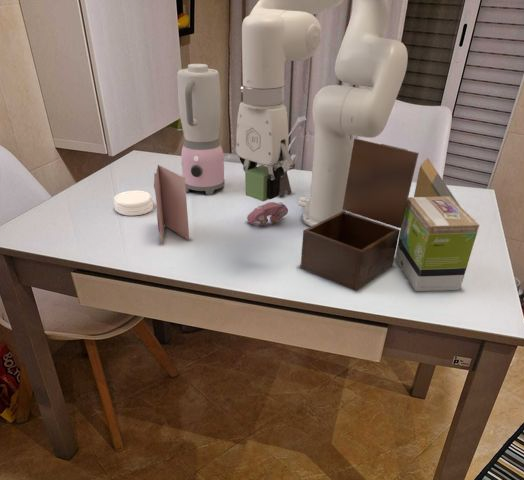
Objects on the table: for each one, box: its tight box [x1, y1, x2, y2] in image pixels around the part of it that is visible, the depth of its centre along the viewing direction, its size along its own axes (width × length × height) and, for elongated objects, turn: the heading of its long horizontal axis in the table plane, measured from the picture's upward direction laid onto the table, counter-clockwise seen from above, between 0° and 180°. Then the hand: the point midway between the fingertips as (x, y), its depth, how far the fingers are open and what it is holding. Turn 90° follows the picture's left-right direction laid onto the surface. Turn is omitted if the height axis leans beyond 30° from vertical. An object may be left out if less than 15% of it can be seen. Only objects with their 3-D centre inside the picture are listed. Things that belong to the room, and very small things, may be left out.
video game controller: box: [246, 201, 289, 226], centre depth 126 cm, size 10×5×7 cm, turn 118°
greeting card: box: [153, 164, 190, 245], centre depth 117 cm, size 11×7×15 cm, turn 5°
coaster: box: [113, 189, 154, 217], centre depth 133 cm, size 10×10×4 cm
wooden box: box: [300, 211, 401, 292], centre depth 107 cm, size 15×15×9 cm
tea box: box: [394, 196, 480, 292], centre depth 103 cm, size 15×10×15 cm, turn 5°
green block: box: [244, 164, 280, 202], centre depth 100 cm, size 5×5×5 cm
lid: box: [342, 138, 420, 229], centre depth 106 cm, size 15×15×5 cm
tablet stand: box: [274, 161, 296, 198], centre depth 144 cm, size 9×8×8 cm
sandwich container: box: [413, 157, 461, 207], centre depth 125 cm, size 9×15×15 cm, turn 64°
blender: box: [176, 63, 226, 196], centre depth 137 cm, size 16×12×32 cm
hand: (262, 192), depth 102 cm, fingers closed on green block, 5 cm apart
